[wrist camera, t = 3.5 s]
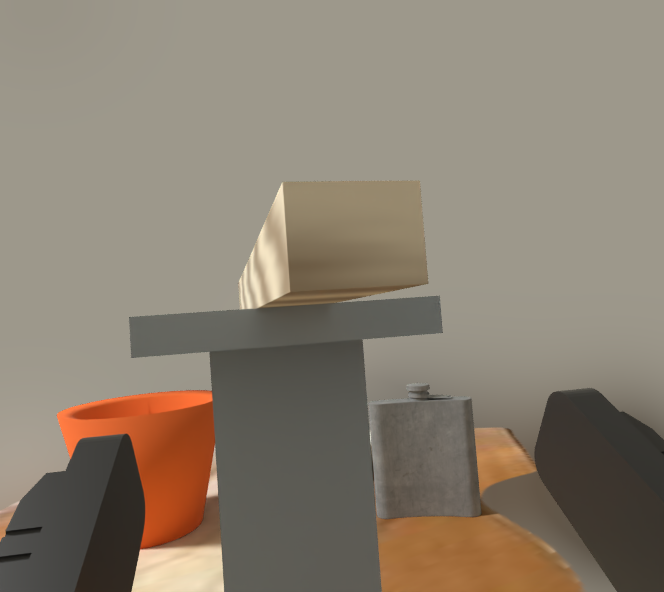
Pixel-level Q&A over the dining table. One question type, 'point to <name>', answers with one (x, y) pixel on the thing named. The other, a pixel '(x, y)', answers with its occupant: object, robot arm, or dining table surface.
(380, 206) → the ash bar
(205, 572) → the dining table surface
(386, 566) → the dining table surface
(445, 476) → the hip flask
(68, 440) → the flowerpot
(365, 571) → the stand
